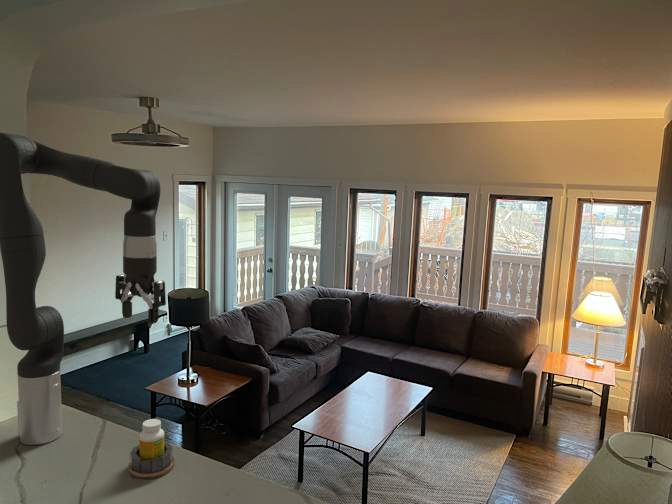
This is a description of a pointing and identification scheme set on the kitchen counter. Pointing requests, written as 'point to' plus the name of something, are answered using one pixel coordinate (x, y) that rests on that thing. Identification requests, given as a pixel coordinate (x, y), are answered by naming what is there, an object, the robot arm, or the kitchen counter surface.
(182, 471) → the kitchen counter surface
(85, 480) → the kitchen counter surface
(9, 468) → the kitchen counter surface
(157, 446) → the supplement bottle
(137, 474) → the collar mount
